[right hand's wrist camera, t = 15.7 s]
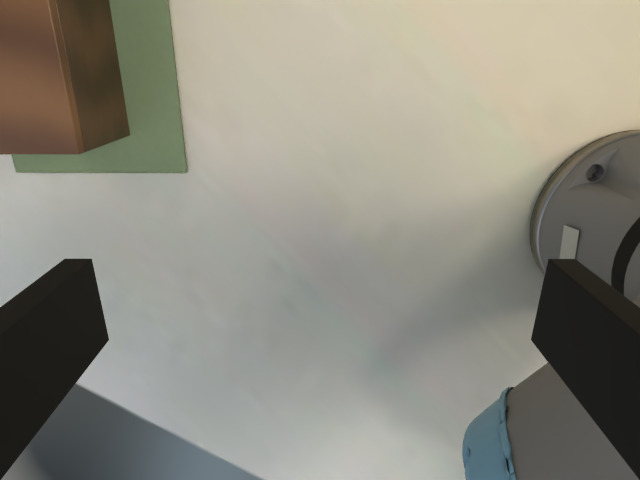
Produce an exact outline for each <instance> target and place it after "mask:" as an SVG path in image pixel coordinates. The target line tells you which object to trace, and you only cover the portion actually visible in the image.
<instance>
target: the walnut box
mask: <svg viewBox="0 0 640 480" xmlns="http://www.w3.org/2000/svg"><path fill="white" fill-rule="evenodd" d="M127 136H130V131H129V125H128V118H127V112H126V105H125V99H124V93H123V86H122V80H121V73H120V67H119V61H118V54H117V48H116V41H115V35H114V29H113V22H112V16H111V9H110V3H109V0H0V154H56V155H79V154H82V153H84V152H87V151H90V150H93V149H95V148H98V147H101V146H103V145H106V144H109V143H111V142H114V141H117V140H119V139H122V138H125V137H127Z"/></svg>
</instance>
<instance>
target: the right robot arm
mask: <svg viewBox="0 0 640 480" xmlns="http://www.w3.org/2000/svg"><path fill="white" fill-rule="evenodd" d="M530 244H531V249H532V253H533V256H534V259H535V261H536V263H537V265H538V267H539V268H540V270H541V271H542V272H543V274H544V275H545V277H544V282H543V286H542V291H541V296H540V300H539V305H538V310H537V315H536V319H535V324H534V329H533V333H532V338H531V340H532V342H533V343H534V344H535V345H536V347H537V348H538V349H539V351H540V352H541V353H542V355H543V356H544V357H545V358H546V360H547V361H548V363H547V364H546V365H544V366H543V367H542V368H540V369H539V370H538V371H536V372H535V373H533V374H532V375H531V376H529V377H528V378H527V379H525V380H524V381H523V382H521V383H520V384H519V385H517V386H516V387H515V388H514V387H508V388H506V389H505V390H504V391H503V392H502V394H501V396H500V398H499V399H498V400H497V401H495V402H494V403H493V404H492V405H490V406H489V407H488V408H487V409H486V410H484V411H483V412H482V413H481V414H480V415H478V416H477V417H476V418H475V419H474V420H473V421H472V422H471V423H470V425H469V426H468V428H467V430H466V432H465V436H464V440H463V462H464V467H465V476H466V480H640V130H632V131H625V132H621V133H617V134H613V135H610V136H607V137H604V138H602V139H600V140H597V141H595V142H593V143H592V144H590V145H588V146H586V147H585V148H583V149H581V150H580V151H578V152H577V153H576V154H574V155H573V156H572V157H570V158H569V159H568V160H567V161H566V162H565V163H564V164H563V165H562V166H561V167H560V168H559V169H558V170H557V171H556V172H555V173H554V174H553V176H552V177H551V178H550V179H549V181H548V182H547V184H546V185H545V187H544V188H543V190H542V192H541V194H540V196H539V198H538V200H537V202H536V205H535V208H534V211H533V214H532V218H531V225H530ZM108 340H109V338H108V333H107V329H106V324H105V319H104V315H103V310H102V305H101V301H100V296H99V291H98V286H97V282H96V277H95V272H94V268H93V263H92V259H64V260H63V261H61V262H60V263H59V264H57V265H56V266H55V267H53V268H52V269H51V270H49V271H48V272H47V273H46V274H44V275H43V276H42V277H40V278H39V279H38V280H36V281H35V282H34V283H32V284H31V285H30V286H28V287H27V288H26V289H24V290H23V291H22V292H20V293H19V294H18V295H16V296H15V297H14V298H12V299H11V300H10V301H8V302H7V303H6V304H4V305H3V306H2V307H0V480H1V479H2V477H3V476H4V475H5V474H6V472H7V471H8V470H9V468H10V467H11V466H12V464H13V463H14V462H15V461H16V459H17V458H18V457H19V455H20V454H21V453H22V451H23V450H24V449H25V448H26V446H27V445H28V444H29V442H30V441H31V440H32V439H33V437H34V436H35V435H36V433H37V432H38V431H39V430H40V428H41V427H42V426H43V424H44V423H45V422H46V421H47V419H48V418H49V417H50V415H51V414H52V413H53V411H54V410H55V409H56V408H57V406H58V405H59V404H60V402H61V401H62V400H63V399H64V397H65V396H66V395H67V393H68V392H69V391H70V389H71V388H72V387H73V386H74V384H75V383H76V382H77V380H78V379H79V378H80V377H81V375H82V374H83V373H84V371H85V370H86V369H87V367H88V366H89V365H90V364H91V362H92V361H93V360H94V358H95V357H96V356H97V355H98V353H99V352H100V351H101V349H102V348H103V347H104V345H105V344H106V343H107V342H108Z"/></svg>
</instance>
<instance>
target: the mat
mask: <svg viewBox="0 0 640 480" xmlns="http://www.w3.org/2000/svg"><path fill="white" fill-rule="evenodd" d="M109 3H110V9H111V16H112V22H113V29H114V35H115V41H116V48H117V54H118V61H119V67H120V73H121V80H122V86H123V93H124V99H125V105H126V112H127V118H128V125H129V131H130V136H127V137H125V138H122V139H119V140H117V141H114V142H111V143H109V144H106V145H103V146H101V147H98V148H95V149H93V150H90V151H87V152H84V153H82V154H79V155H56V154H12V158H13V161H14V165H15V169H16V172H52V173H187V163H186V154H185V145H184V136H183V127H182V118H181V109H180V100H179V91H178V82H177V73H176V64H175V55H174V46H173V37H172V28H171V20H170V11H169V2H168V0H109Z"/></svg>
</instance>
